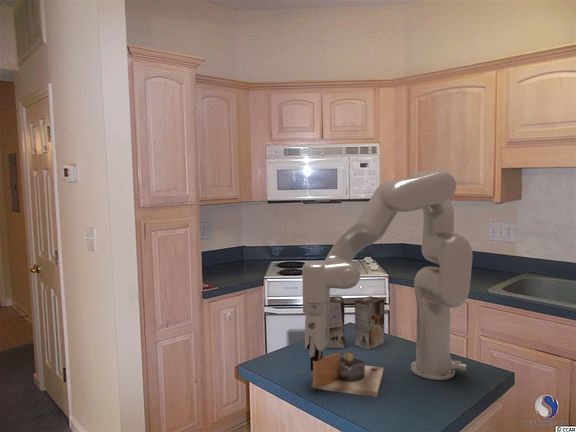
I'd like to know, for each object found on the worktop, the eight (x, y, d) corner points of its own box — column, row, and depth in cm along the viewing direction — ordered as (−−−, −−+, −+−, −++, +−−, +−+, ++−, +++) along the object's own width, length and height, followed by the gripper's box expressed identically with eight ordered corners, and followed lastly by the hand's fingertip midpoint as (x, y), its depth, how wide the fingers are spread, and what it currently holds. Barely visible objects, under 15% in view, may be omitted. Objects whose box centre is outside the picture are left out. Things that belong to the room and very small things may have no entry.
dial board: (383, 372, 131) (383, 367, 131) (377, 397, 116) (377, 391, 116) (324, 365, 137) (324, 360, 137) (311, 388, 122) (311, 382, 122)
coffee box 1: (344, 348, 151) (345, 302, 150) (326, 348, 151) (326, 302, 150) (342, 339, 160) (342, 295, 159) (324, 339, 160) (324, 295, 159)
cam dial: (348, 364, 133) (349, 341, 132) (371, 375, 126) (371, 350, 125) (304, 380, 122) (303, 355, 122) (325, 393, 115) (325, 366, 115)
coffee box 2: (370, 338, 160) (370, 295, 159) (384, 343, 155) (385, 298, 154) (354, 345, 154) (354, 300, 153) (369, 350, 149) (369, 303, 148)
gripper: (323, 315, 113) (323, 384, 115) (335, 300, 127) (335, 361, 129) (295, 313, 115) (296, 380, 117) (310, 298, 130) (310, 358, 131)
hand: (316, 370), depth 123 cm, fingers closed
